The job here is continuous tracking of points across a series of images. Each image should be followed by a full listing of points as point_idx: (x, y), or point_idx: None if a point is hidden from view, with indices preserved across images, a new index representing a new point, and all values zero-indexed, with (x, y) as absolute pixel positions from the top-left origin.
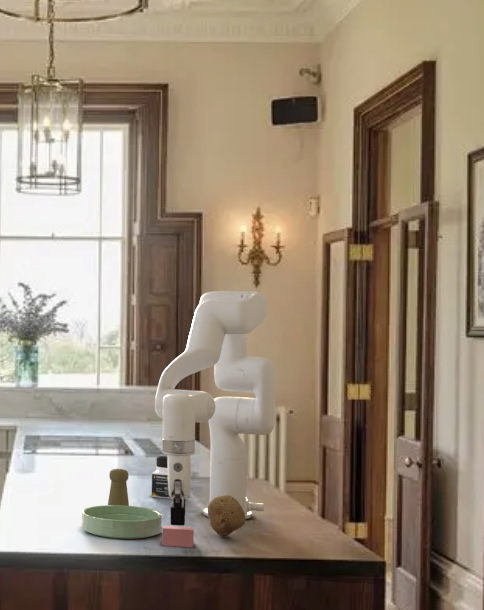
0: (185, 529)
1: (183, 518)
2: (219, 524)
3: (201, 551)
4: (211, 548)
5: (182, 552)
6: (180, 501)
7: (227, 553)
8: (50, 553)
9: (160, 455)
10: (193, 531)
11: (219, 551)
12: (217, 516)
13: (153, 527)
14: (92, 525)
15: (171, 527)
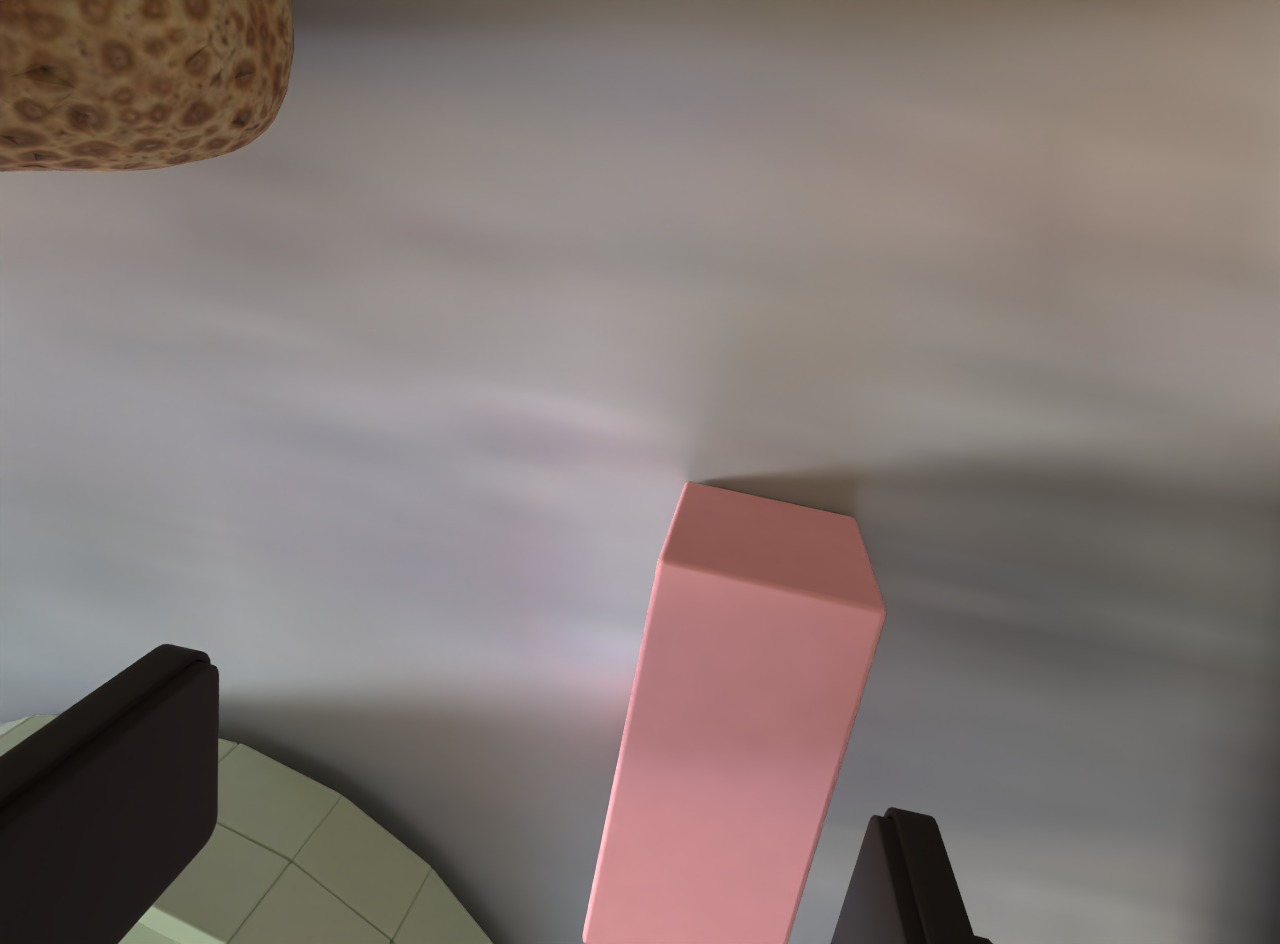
0: (845, 722)
1: (951, 922)
2: (262, 17)
3: (1063, 453)
4: (889, 284)
5: (1106, 691)
6: None
7: (1212, 100)
8: None
9: None
10: (880, 599)
11: (1075, 202)
12: (134, 16)
13: (370, 917)
14: None
15: (708, 877)
